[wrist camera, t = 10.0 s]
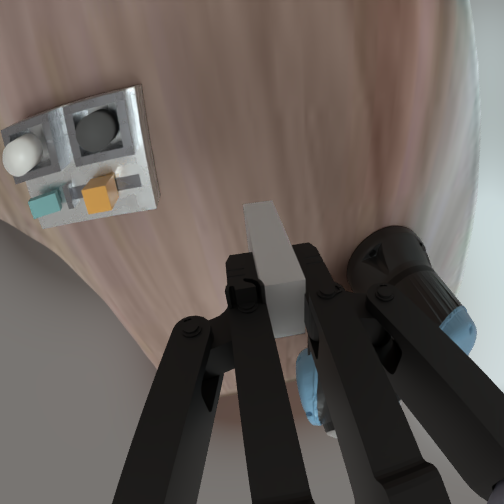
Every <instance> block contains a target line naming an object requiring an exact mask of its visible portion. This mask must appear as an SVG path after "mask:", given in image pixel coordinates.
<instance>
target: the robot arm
mask: <svg viewBox="0 0 504 504" xmlns="http://www.w3.org/2000/svg"><path fill="white" fill-rule="evenodd" d="M243 210H244V217H245V225H246V233H247V240H248V248H249V253H242V254H236V255H230V256H229V258H228V259H227V261H226V273H227V286H226V289H225V294H226V299H227V304H228V307H227V309H226V310H225V312H224V313H222V314H221V315H220V316H218V317H216V318H213V319H211V320H207V319H205V318H204V317H200V316H189V317H186V318H184V319H182V320H180V321H179V322H178V323H176V325H175V327H174V328H173V330H172V333H171V336H170V338H169V341H168V343H167V346H166V349H165V351H164V354H163V357H162V359H161V362H160V365H159V367H158V370H157V373H156V376H155V378H154V381H153V383H152V386H151V389H150V392H149V394H148V397H147V400H146V403H145V406H144V408H143V411H142V414H141V417H140V420H139V423H138V426H137V429H136V431H135V435H134V438H133V440H132V443H131V446H130V449H129V452H128V455H127V458H126V461H125V465H124V467H123V470H122V474H121V477H120V480H119V483H118V486H117V489H116V493H115V496H114V499H113V503H112V504H196V502H197V498H198V493H199V489H200V484H201V479H202V475H203V470H204V465H205V461H206V456H207V451H208V446H209V442H210V437H211V432H212V427H213V423H214V418H215V413H216V408H217V404H218V400H219V395H220V390H221V386H222V381H223V376H224V373H225V372H227V371H230V370H232V369H234V368H235V374H236V383H237V391H238V400H239V408H240V416H241V424H242V432H243V440H244V447H245V455H246V463H247V470H248V477H249V485H250V492H251V498H252V504H315V503H314V501H313V499H312V496H311V492H310V489H309V484H308V479H307V475H306V471H305V467H304V462H303V458H302V453H301V449H300V445H299V441H298V436H297V432H296V428H295V424H294V419H293V415H292V411H291V406H290V402H289V398H288V393H287V389H286V385H285V380H284V376H283V372H282V368H281V363H280V359H279V355H278V351H277V346H276V342H275V338H281V337H287V336H292V335H298V334H303V333H305V326H306V329H307V332H308V348H306V349H304V350H303V351H301V352H300V354H299V355H298V357H297V361H296V379H297V385H298V390H299V395H300V399H301V403H302V406H303V409H304V411H305V412H306V415H307V418H308V420H309V422H310V423H311V424H312V425H319V426H320V425H322V424H323V426H324V428H325V431H326V434H327V435H329V436H331V437H334V438H336V439H338V442H339V445H340V449H341V452H342V456H343V459H344V462H345V466H346V469H347V473H348V476H349V480H350V483H351V487H352V491H353V494H354V498H355V504H451V502H450V500H449V497H448V494H447V491H446V488H445V486H444V483H443V481H442V478H441V475H440V474H439V472H438V470H437V468H436V467H435V466H434V465H433V464H431V463H428V462H426V461H425V460H424V459H423V457H422V455H421V453H420V451H419V448H418V445H417V443H416V441H415V438H414V436H413V433H412V431H411V429H410V426H409V424H408V422H407V419H406V417H405V415H404V412H403V410H402V408H401V405H402V402H404V403H405V405H406V406H407V407H408V409H409V410H410V411H411V412H412V414H413V415H414V416H415V417H416V419H417V420H418V421H419V422H420V424H421V425H422V426H423V427H424V429H425V430H426V431H427V433H428V434H429V435H430V436H431V438H432V439H433V440H434V442H435V443H436V444H437V446H438V447H439V448H440V449H441V451H442V452H443V453H444V455H445V456H446V457H447V459H448V460H449V461H450V462H451V464H452V465H453V466H454V468H455V469H456V470H457V472H458V473H459V474H460V476H461V477H462V478H463V480H464V481H465V482H466V483H467V484H468V485H469V487H470V488H471V489H472V490H473V491H474V492H476V493H477V494H478V495H479V496H480V497H482V498H484V499H485V500H486V501H488V503H487V504H504V393H503V392H502V391H501V390H500V389H499V388H498V387H497V386H496V385H495V384H494V383H493V382H492V380H491V379H490V378H489V377H488V376H487V375H486V374H485V373H484V372H483V371H482V370H481V369H480V368H479V367H478V366H477V365H476V364H475V363H474V362H473V361H472V360H471V358H469V357H468V355H469V353H470V351H471V350H472V348H473V346H474V343H475V340H476V334H477V331H476V327H475V324H474V322H473V321H472V319H471V318H470V316H469V315H468V313H467V310H466V308H465V307H464V306H462V304H461V303H460V302H459V300H458V299H457V298H456V297H455V295H454V294H453V293H452V292H451V290H450V289H449V288H448V287H447V286H446V284H445V283H444V282H443V281H442V279H441V278H440V277H439V276H438V275H437V274H436V272H435V271H434V270H433V269H432V266H431V263H430V261H429V258H428V255H427V252H426V249H425V247H424V244H423V243H422V241H421V240H420V238H419V237H418V236H417V235H416V234H415V233H414V232H413V231H412V230H410V229H408V228H406V227H401V226H393V227H387V228H384V229H381V230H379V231H377V232H375V233H374V234H372V235H370V236H369V237H368V238H367V239H365V240H364V241H363V242H362V243H361V244H360V245H359V246H358V248H357V249H356V250H355V252H354V253H353V255H352V257H351V259H350V261H349V264H348V268H347V279H348V282H349V285H350V286H351V288H352V290H353V292H354V293H351V292H347V291H345V289H344V288H343V287H342V286H341V285H340V284H338V283H336V282H334V281H333V279H332V277H331V275H330V273H329V271H328V269H327V267H326V265H325V263H324V262H323V259H322V258H321V256H320V254H319V252H318V250H317V248H316V247H314V246H313V245H312V244H310V243H302V244H296V245H291V243H290V241H289V238H288V236H287V234H286V231H285V229H284V227H283V224H282V222H281V220H280V217H279V215H278V213H277V210H276V208H275V206H274V204H273V201H272V200H270V201H263V202H255V203H248V204H243Z"/></svg>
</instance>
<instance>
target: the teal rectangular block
mask: <svg viewBox="0 0 504 504" xmlns="http://www.w3.org/2000/svg"><path fill="white" fill-rule="evenodd" d="M28 204H29V207H30V209H31V212H32V215H33V217H34V219H36V218H39V217H42V216H45V215H48V214H51V213H55V212H58V211H61V209H62V204H61V201H60V198H59V195H58V191H57V190H54V191H51V192H48V193H45V194H42V195H39V196H36V197H33V198H30V200H29V201H28Z"/></svg>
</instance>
